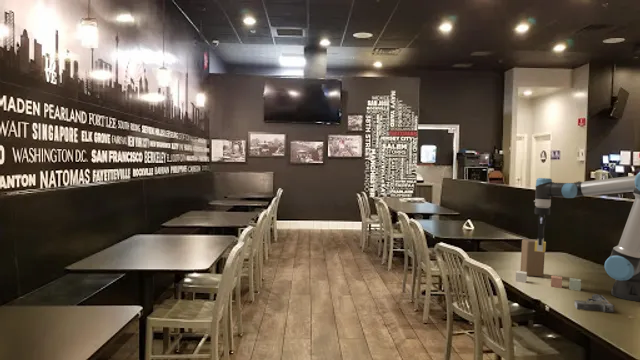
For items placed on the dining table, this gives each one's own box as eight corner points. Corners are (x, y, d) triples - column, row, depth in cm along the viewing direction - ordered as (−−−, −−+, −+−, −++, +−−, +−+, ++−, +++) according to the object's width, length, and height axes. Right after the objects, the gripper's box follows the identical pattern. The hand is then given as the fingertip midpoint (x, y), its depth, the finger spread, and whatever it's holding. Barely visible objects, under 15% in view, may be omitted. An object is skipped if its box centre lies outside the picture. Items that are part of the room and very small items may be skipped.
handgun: (567, 298, 219) (603, 302, 214) (577, 311, 200) (616, 315, 195) (568, 290, 219) (603, 294, 214) (577, 302, 200) (616, 306, 195)
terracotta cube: (561, 286, 239) (562, 276, 239) (561, 288, 235) (562, 278, 235) (551, 284, 242) (551, 275, 242) (550, 286, 237) (551, 277, 237)
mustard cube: (545, 251, 244) (546, 241, 244) (544, 252, 240) (545, 243, 240) (535, 249, 247) (535, 240, 246) (534, 251, 242) (535, 241, 242)
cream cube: (526, 281, 248) (526, 272, 247) (525, 283, 243) (526, 273, 243) (516, 279, 250) (516, 270, 250) (515, 281, 246) (515, 272, 245)
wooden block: (537, 273, 268) (539, 239, 267) (544, 277, 258) (545, 242, 257) (519, 272, 269) (521, 238, 268) (525, 276, 259) (527, 241, 258)
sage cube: (580, 288, 235) (580, 279, 235) (580, 291, 231) (580, 281, 231) (569, 287, 238) (569, 277, 238) (569, 289, 233) (569, 279, 233)
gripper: (535, 205, 252) (533, 247, 253) (533, 207, 236) (531, 252, 237) (550, 206, 248) (548, 248, 249) (549, 208, 233) (547, 253, 233)
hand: (540, 250), depth 243 cm, fingers closed on mustard cube, 5 cm apart
